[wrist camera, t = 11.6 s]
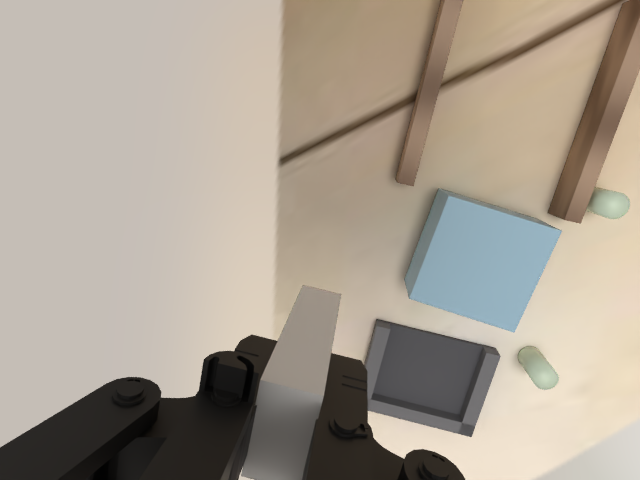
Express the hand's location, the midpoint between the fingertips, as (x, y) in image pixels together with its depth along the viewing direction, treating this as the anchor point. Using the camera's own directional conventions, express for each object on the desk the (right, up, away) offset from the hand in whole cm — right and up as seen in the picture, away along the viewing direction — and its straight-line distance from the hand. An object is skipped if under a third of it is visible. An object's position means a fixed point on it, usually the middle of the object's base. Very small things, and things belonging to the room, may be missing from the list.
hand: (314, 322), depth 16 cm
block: (+11, +3, +14) cm, 18 cm away
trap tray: (+8, -7, +16) cm, 19 cm away
